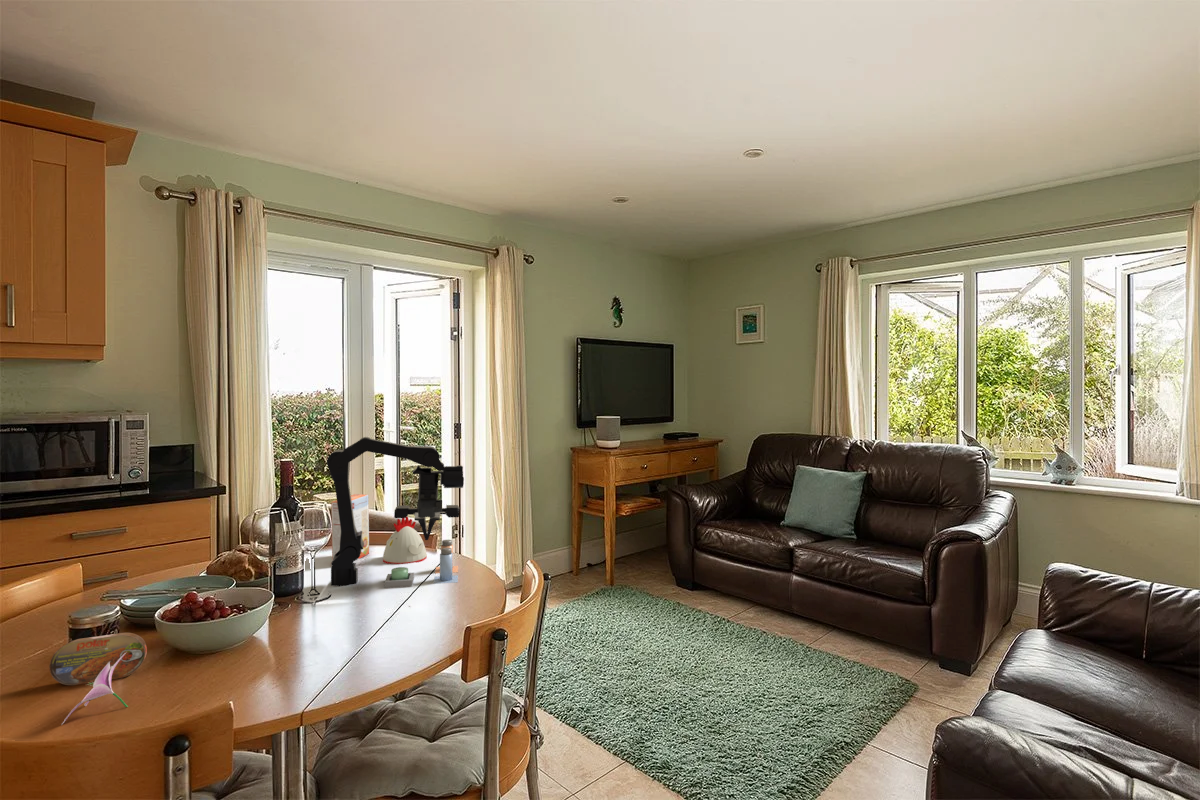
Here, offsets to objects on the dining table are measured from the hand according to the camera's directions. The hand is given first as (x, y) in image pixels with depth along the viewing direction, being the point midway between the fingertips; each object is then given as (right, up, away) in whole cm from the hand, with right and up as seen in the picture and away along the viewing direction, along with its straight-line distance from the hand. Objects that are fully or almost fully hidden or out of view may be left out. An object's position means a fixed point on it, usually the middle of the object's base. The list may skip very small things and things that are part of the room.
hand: (426, 539), depth 185 cm
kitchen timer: (-13, -12, +19) cm, 25 cm away
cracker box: (-31, -12, +21) cm, 39 cm away
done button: (-6, -10, -8) cm, 14 cm away
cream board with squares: (0, -12, 0) cm, 12 cm away
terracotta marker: (+5, -11, +6) cm, 13 cm away
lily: (-37, -13, -76) cm, 85 cm away
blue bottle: (+7, -11, -4) cm, 13 cm away
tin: (-47, -13, -64) cm, 80 cm away
